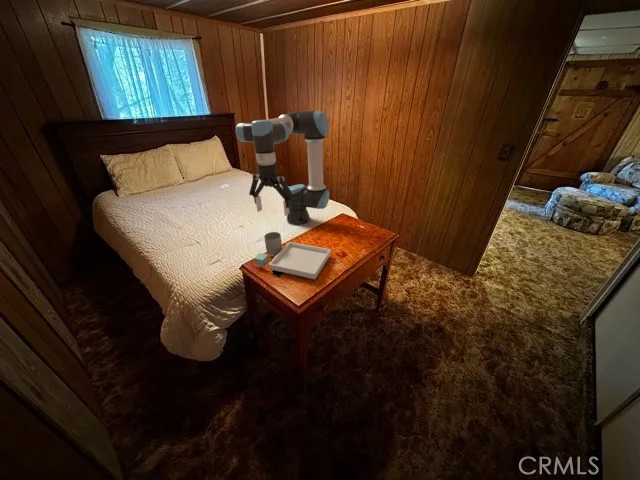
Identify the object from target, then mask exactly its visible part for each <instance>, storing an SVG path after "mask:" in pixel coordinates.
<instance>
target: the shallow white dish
mask: <svg viewBox="0 0 640 480" xmlns="http://www.w3.org/2000/svg"><path fill="white" fill-rule="evenodd" d="M331 255H332V249H331V248H324V247H321V246H320V247H319V246H315V245H314V246H313V245H311V244H310V245H309V244H303V243H298V242H293V241H289V242H288V243H287V244H286V245H285V246H283V247H282V250H281V251H280V252H279V253H278V254H277V255H276V256H274V257H273V259H271V260H272V261H271V262H270V263H269V264H268V266H269V269H271V270H276V271H280V272H285V273H286V274H290V275H294V276H298V277H304V278H307V279H310V280H316V279H317V277H318V276H319V274H320V272H321V271H322V269H323V268H324V266H325V264H326V262H327V261H328V260H329V258H330V257H331ZM285 273H284V274H285Z"/></svg>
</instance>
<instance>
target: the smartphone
mask: <svg viewBox="0 0 640 480" xmlns="http://www.w3.org/2000/svg"><path fill="white" fill-rule="evenodd" d="M272 272H273V274H274V275H273V274H272V275H273V276H275V277H276V276H277V278H280V277H281V276H283V275H284V274H285V272H280V271H276V270H273V271H272Z"/></svg>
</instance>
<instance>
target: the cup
mask: <svg viewBox="0 0 640 480" xmlns="http://www.w3.org/2000/svg"><path fill="white" fill-rule="evenodd" d="M281 235H282V234H281V233H279V232H276V231H270V232H267V233H266V234H264V244H265V250H266V254H267V253H268V254H270V255H274V257H275V256H276V255H277V254H278V253H279V252H280V251H281V250H282V249H283V244H282V236H281Z"/></svg>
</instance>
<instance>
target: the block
mask: <svg viewBox="0 0 640 480" xmlns="http://www.w3.org/2000/svg"><path fill="white" fill-rule="evenodd" d="M253 259H254V260H253V261H254V265H255V264H256V265H259V266H263V267H264V266H265V265H266V264H267V263H268V262H269V259H270V256H268V254H267V253H261V252H259V253H258V254H256V256H255V257H253Z"/></svg>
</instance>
